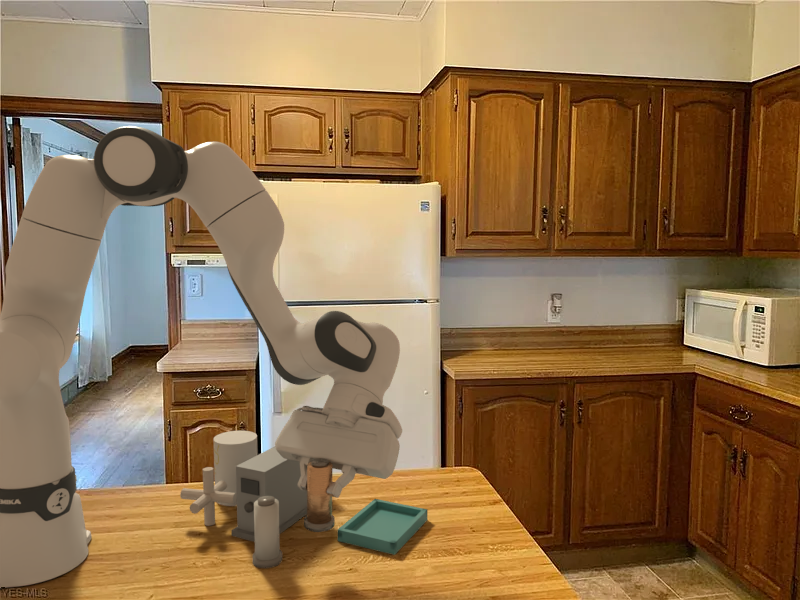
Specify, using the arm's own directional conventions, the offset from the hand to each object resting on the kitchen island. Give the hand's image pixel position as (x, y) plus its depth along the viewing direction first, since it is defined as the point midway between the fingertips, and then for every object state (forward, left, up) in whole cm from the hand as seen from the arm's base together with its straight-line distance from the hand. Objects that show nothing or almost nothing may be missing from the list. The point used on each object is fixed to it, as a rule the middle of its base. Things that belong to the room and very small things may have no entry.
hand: (317, 492), depth 97 cm
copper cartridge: (0, +1, -5) cm, 5 cm away
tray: (+3, +16, -12) cm, 20 cm away
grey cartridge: (-9, -1, -12) cm, 15 cm away
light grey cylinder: (-29, +16, -13) cm, 35 cm away
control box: (-16, +11, -12) cm, 23 cm away
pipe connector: (-26, +5, -13) cm, 29 cm away
